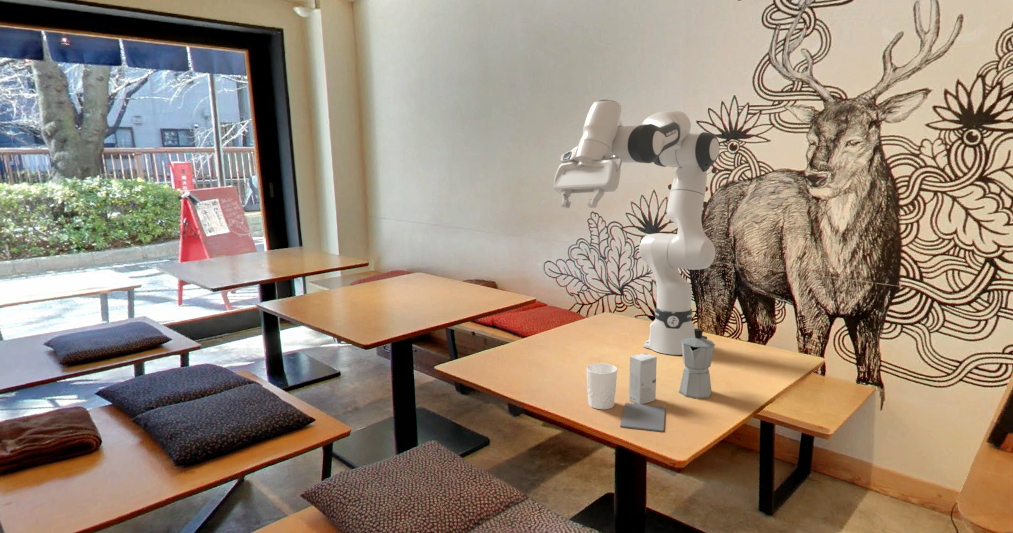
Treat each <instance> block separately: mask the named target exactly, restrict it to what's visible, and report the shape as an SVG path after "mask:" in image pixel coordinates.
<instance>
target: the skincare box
mask: <svg viewBox="0 0 1013 533" xmlns="http://www.w3.org/2000/svg"><path fill="white" fill-rule="evenodd" d="M628 377H629V384H628V400H629V401H630V402H631V403H633V404H642V405H645V404H647V403H651V402H654V401H655V400H656V398H657V397H656V396H657V395H656V394H657V393H656V391H657V389H656V388H657V356H655V355H652V354H650V353H646V352H645V353H640V354H639V353H638V354H635V355H632V356H629V376H628Z"/></svg>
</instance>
